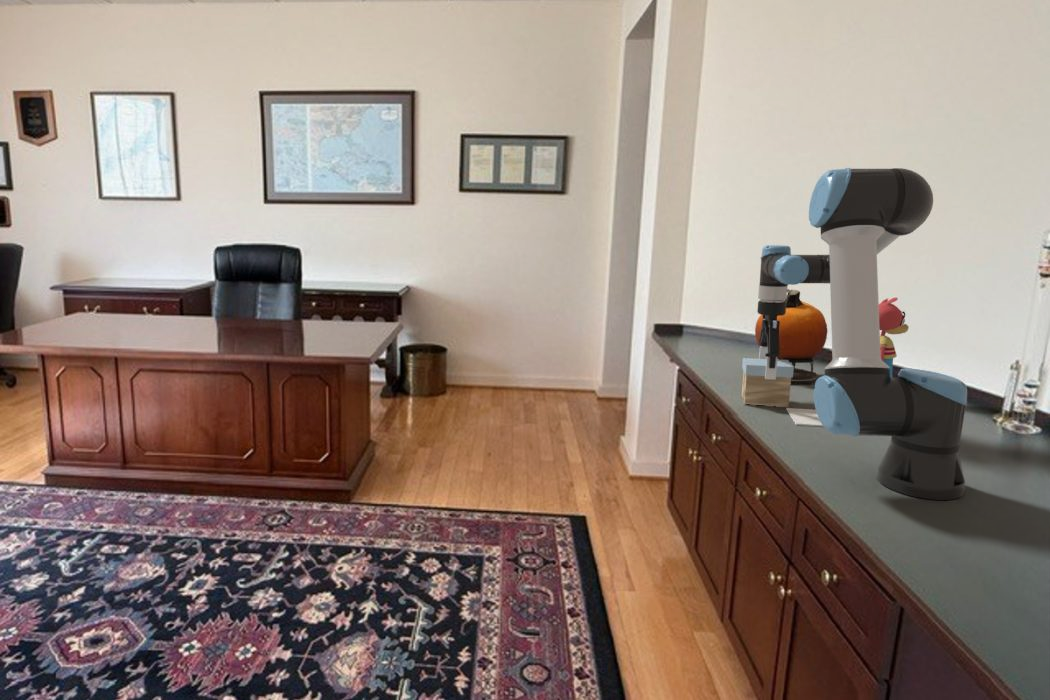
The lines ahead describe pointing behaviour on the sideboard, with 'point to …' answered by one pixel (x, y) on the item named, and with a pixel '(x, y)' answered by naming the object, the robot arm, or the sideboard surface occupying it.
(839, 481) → the sideboard surface
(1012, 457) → the sideboard surface
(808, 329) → the pumpkin
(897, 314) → the toy
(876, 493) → the sideboard surface
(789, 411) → the pad
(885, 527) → the sideboard surface
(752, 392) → the box
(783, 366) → the lid
